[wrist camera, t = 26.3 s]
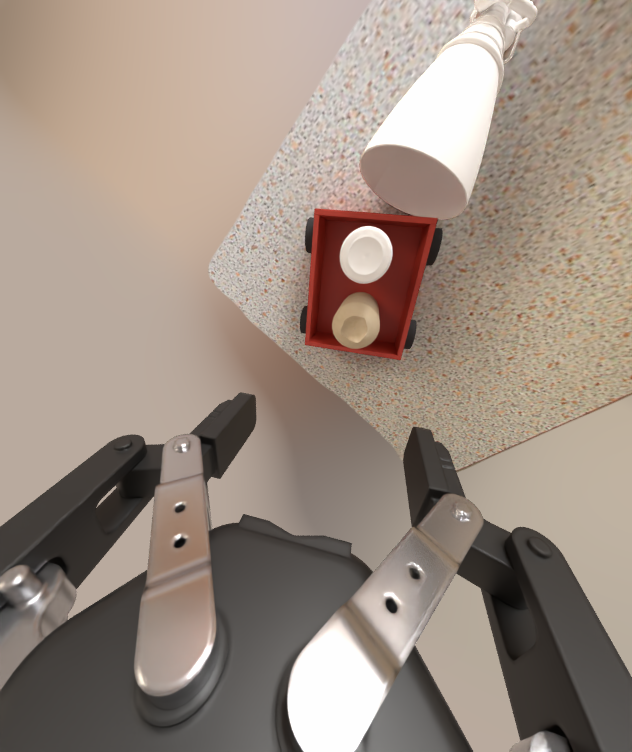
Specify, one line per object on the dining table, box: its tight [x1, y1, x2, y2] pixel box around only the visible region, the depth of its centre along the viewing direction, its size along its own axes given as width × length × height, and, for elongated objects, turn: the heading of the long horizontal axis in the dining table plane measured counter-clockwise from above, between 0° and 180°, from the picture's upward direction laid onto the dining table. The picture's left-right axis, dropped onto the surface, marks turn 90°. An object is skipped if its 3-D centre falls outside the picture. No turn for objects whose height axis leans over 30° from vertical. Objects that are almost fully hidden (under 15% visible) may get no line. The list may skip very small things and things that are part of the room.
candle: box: [332, 292, 380, 349], centre depth 32 cm, size 6×6×10 cm
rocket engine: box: [359, 0, 537, 220], centre depth 23 cm, size 12×12×18 cm
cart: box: [305, 209, 438, 360], centre depth 33 cm, size 16×13×6 cm
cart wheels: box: [300, 218, 443, 349], centre depth 34 cm, size 15×16×4 cm
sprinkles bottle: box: [340, 226, 393, 284], centre depth 27 cm, size 5×5×14 cm
